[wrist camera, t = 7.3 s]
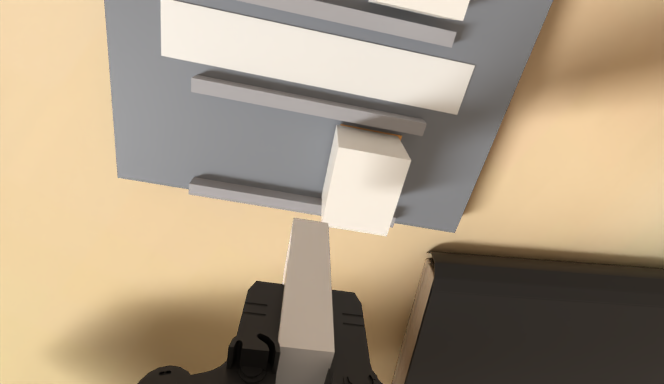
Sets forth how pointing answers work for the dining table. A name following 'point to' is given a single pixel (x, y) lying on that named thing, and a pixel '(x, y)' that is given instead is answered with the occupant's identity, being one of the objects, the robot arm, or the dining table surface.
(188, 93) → the switch panel
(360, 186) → the inner tab
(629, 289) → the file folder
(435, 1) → the outer tab
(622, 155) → the dining table surface
